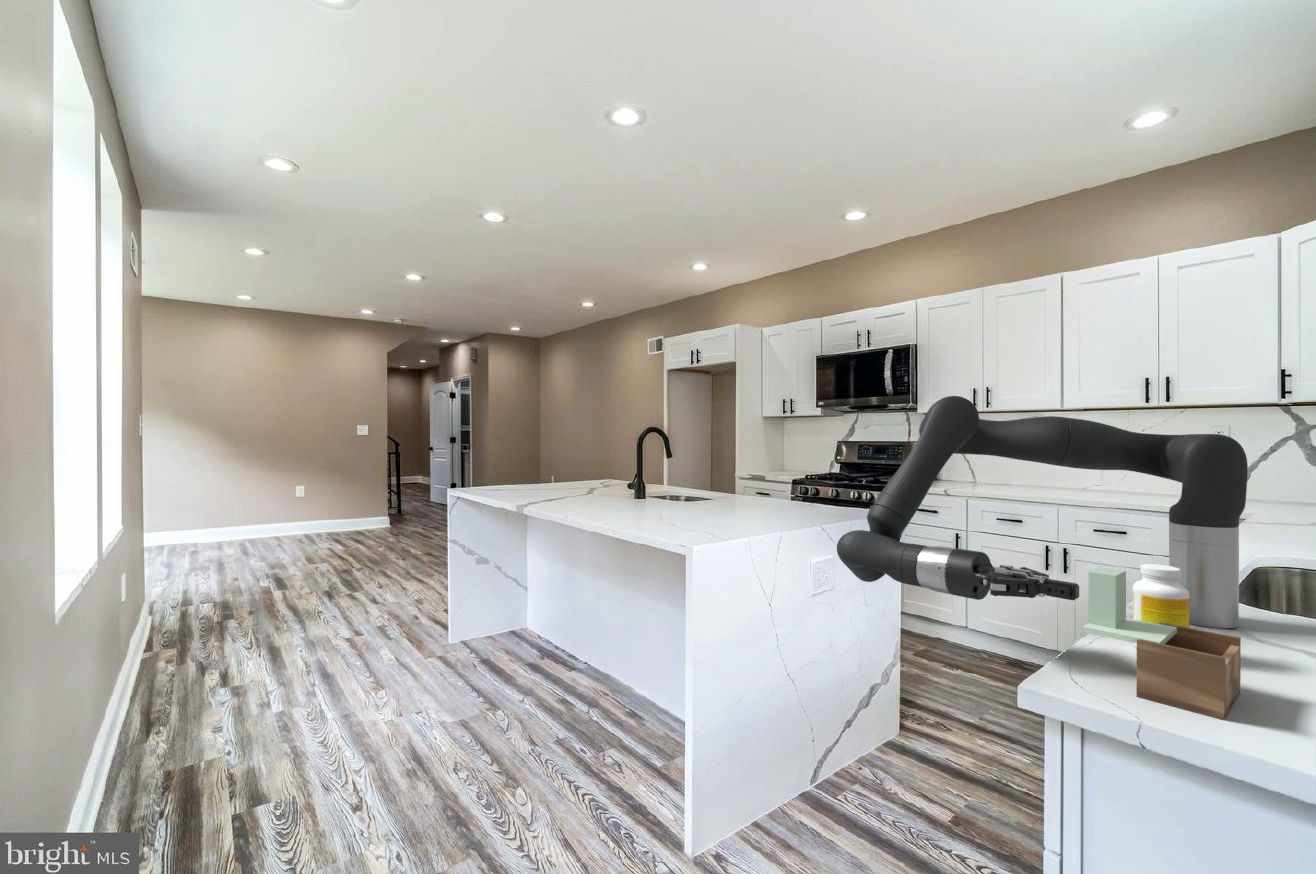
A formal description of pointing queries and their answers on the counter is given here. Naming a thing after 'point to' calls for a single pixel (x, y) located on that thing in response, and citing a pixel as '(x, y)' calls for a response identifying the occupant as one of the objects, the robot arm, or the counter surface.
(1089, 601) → the sage lid
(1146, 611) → the supplement bottle
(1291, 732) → the counter surface
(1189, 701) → the walnut box
